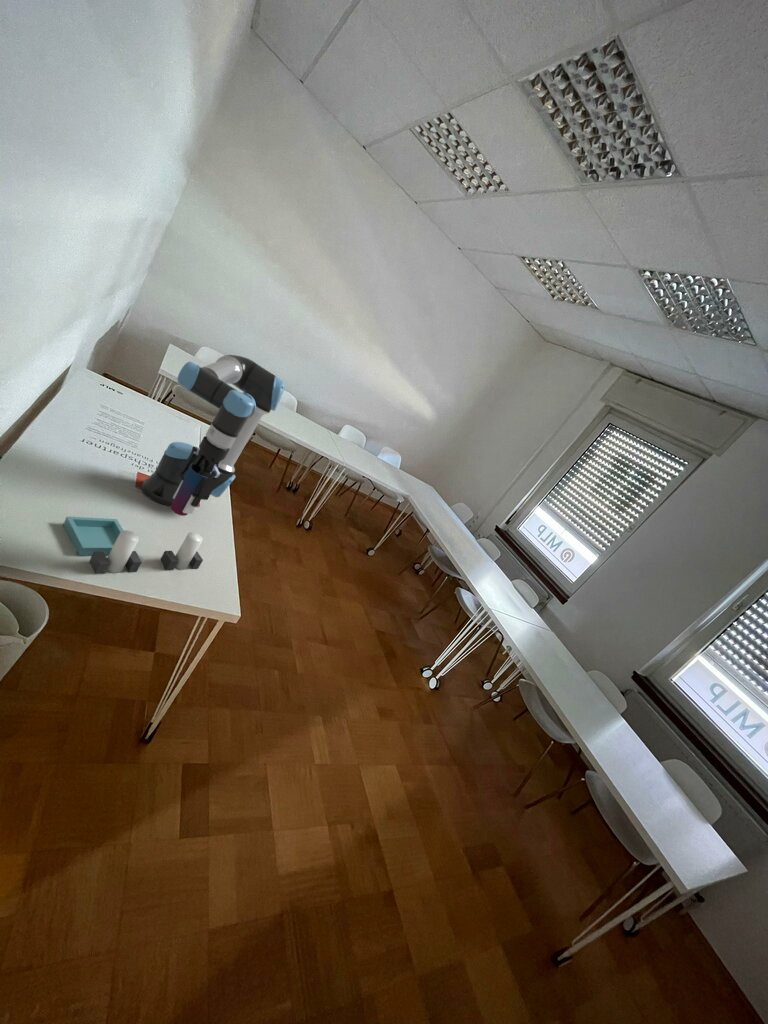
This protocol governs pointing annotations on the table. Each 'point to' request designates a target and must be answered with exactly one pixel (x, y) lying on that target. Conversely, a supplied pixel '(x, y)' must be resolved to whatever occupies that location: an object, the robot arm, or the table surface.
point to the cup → (186, 490)
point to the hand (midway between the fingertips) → (182, 505)
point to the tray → (92, 534)
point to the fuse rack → (130, 559)
